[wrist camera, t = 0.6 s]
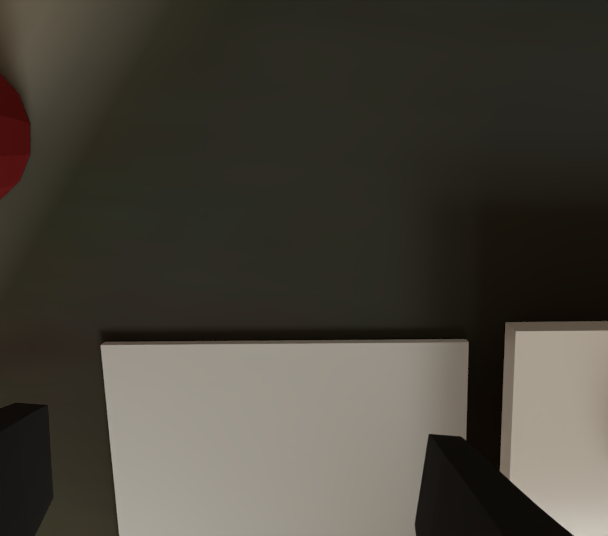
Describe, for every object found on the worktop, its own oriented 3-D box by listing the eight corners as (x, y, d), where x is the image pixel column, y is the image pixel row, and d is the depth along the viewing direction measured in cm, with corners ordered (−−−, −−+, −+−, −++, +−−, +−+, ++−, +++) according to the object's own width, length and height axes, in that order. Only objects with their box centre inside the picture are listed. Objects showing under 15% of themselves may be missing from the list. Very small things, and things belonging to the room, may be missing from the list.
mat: (458, 657, 23) (460, 666, 22) (134, 647, 24) (131, 655, 23) (466, 339, 20) (468, 342, 20) (105, 342, 21) (100, 345, 21)
